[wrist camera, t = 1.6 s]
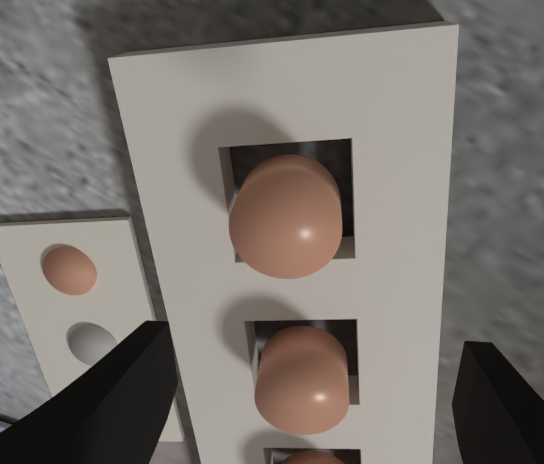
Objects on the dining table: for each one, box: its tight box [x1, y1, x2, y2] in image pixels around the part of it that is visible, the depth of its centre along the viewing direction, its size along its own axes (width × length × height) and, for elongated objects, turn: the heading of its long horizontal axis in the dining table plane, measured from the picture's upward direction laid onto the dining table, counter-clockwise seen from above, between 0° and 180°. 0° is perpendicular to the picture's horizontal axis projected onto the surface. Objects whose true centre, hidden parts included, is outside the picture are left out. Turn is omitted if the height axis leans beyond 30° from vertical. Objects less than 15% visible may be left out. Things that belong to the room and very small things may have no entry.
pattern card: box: [0, 216, 185, 441], centre depth 26 cm, size 14×7×1 cm, turn 6°
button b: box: [254, 326, 349, 435], centre depth 22 cm, size 4×4×2 cm
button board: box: [107, 21, 459, 464], centre depth 24 cm, size 28×12×2 cm, turn 6°
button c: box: [229, 154, 342, 279], centre depth 18 cm, size 4×4×2 cm
